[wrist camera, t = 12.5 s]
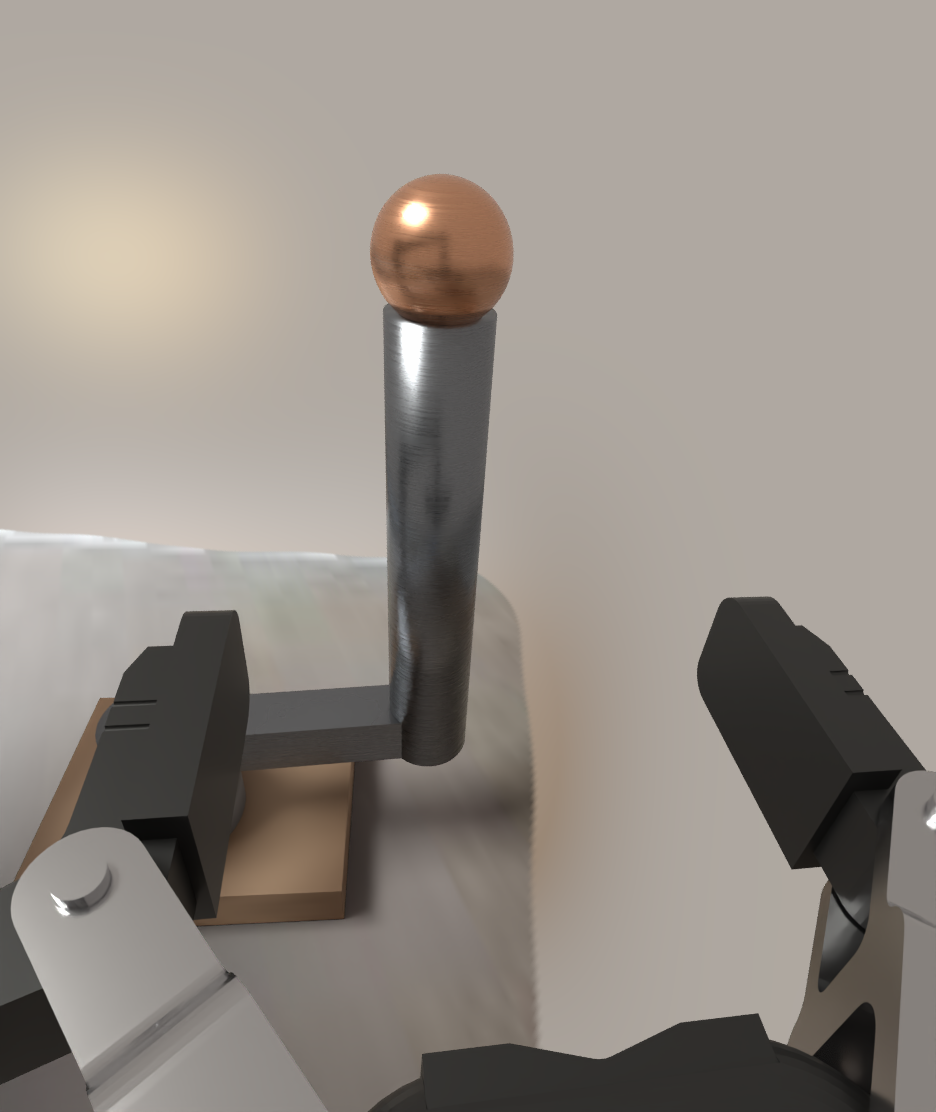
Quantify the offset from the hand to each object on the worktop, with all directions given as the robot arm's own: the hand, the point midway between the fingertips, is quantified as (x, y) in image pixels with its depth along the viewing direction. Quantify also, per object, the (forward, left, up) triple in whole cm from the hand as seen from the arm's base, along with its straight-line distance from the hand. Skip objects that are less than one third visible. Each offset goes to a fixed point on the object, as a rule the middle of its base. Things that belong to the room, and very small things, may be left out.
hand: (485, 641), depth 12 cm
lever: (-6, +10, -14) cm, 18 cm away
